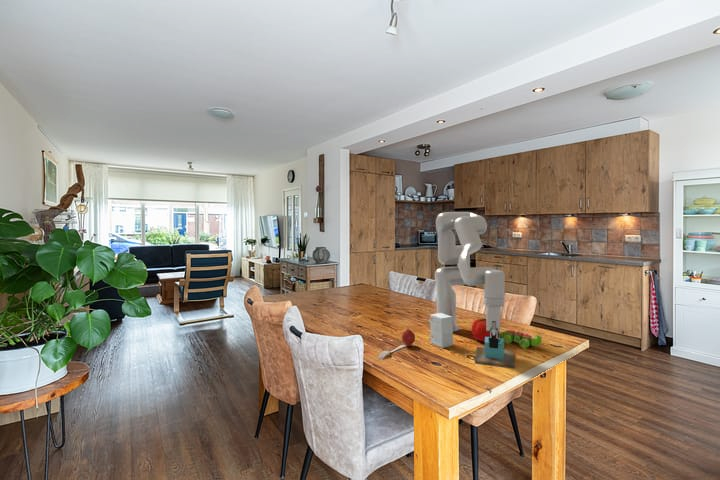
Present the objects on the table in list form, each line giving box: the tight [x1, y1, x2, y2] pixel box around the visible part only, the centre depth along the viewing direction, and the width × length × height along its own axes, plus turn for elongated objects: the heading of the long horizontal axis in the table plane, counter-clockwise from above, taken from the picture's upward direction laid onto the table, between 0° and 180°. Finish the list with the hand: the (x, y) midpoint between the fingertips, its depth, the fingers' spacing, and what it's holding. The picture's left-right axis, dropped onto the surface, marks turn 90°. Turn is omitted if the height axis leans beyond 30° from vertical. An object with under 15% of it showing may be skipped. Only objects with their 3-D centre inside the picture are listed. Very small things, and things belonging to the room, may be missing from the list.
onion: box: [401, 328, 416, 347], centre depth 152 cm, size 6×6×8 cm
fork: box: [377, 344, 407, 361], centre depth 145 cm, size 3×21×3 cm, turn 142°
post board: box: [474, 346, 516, 369], centre depth 137 cm, size 14×16×7 cm
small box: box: [429, 312, 454, 349], centre depth 153 cm, size 8×6×13 cm
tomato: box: [471, 318, 499, 343], centre depth 157 cm, size 12×12×10 cm
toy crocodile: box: [498, 329, 543, 349], centre depth 153 cm, size 20×7×6 cm, turn 40°
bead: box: [484, 337, 505, 359], centre depth 137 cm, size 7×7×6 cm
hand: (493, 343), depth 137 cm, fingers open, 9 cm apart
